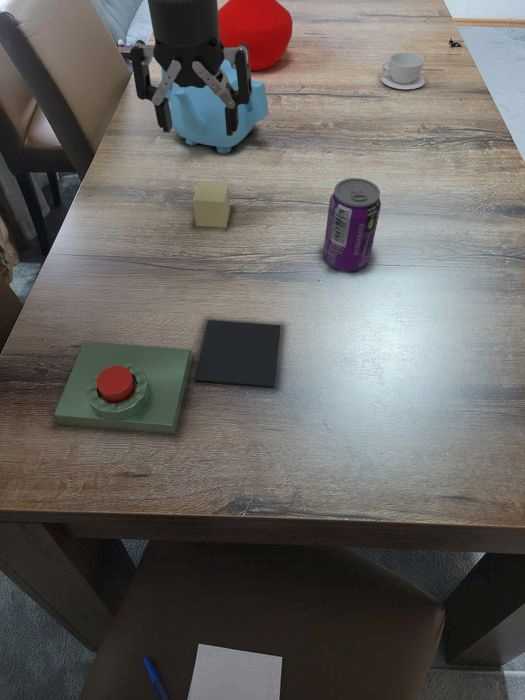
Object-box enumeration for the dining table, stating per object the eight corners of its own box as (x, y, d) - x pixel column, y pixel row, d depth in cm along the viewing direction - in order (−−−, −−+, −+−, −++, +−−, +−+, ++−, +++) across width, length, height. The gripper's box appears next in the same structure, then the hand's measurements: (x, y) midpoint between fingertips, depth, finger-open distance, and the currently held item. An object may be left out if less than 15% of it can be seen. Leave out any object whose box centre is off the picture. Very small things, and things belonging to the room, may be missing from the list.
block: (196, 226, 81) (192, 200, 77) (201, 207, 84) (198, 181, 80) (226, 228, 80) (224, 202, 76) (230, 209, 83) (228, 183, 80)
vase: (266, 40, 126) (265, -53, 111) (306, 67, 116) (312, -31, 101) (202, 57, 120) (193, -40, 105) (238, 86, 111) (234, -15, 96)
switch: (95, 401, 56) (91, 392, 55) (106, 372, 59) (102, 364, 57) (130, 404, 56) (126, 395, 54) (138, 375, 58) (135, 366, 57)
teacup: (424, 73, 114) (429, 51, 111) (425, 93, 108) (430, 70, 105) (380, 70, 115) (384, 48, 112) (379, 89, 110) (383, 67, 106)
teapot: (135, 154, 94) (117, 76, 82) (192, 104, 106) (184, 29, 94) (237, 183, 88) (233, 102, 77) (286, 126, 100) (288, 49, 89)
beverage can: (374, 271, 74) (390, 204, 65) (329, 276, 73) (338, 209, 64) (361, 240, 78) (374, 173, 69) (318, 245, 78) (325, 178, 68)
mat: (195, 382, 62) (194, 379, 61) (208, 322, 68) (208, 319, 68) (274, 388, 61) (274, 385, 61) (280, 327, 67) (280, 324, 67)
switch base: (59, 424, 58) (47, 407, 55) (88, 351, 65) (79, 332, 62) (175, 434, 57) (169, 417, 54) (192, 359, 64) (188, 340, 61)
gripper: (105, -3, 51) (140, 143, 64) (240, 0, 50) (248, 149, 63) (127, -27, 55) (155, 114, 68) (251, -25, 54) (256, 119, 67)
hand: (199, 131), depth 65 cm, fingers open, 8 cm apart
